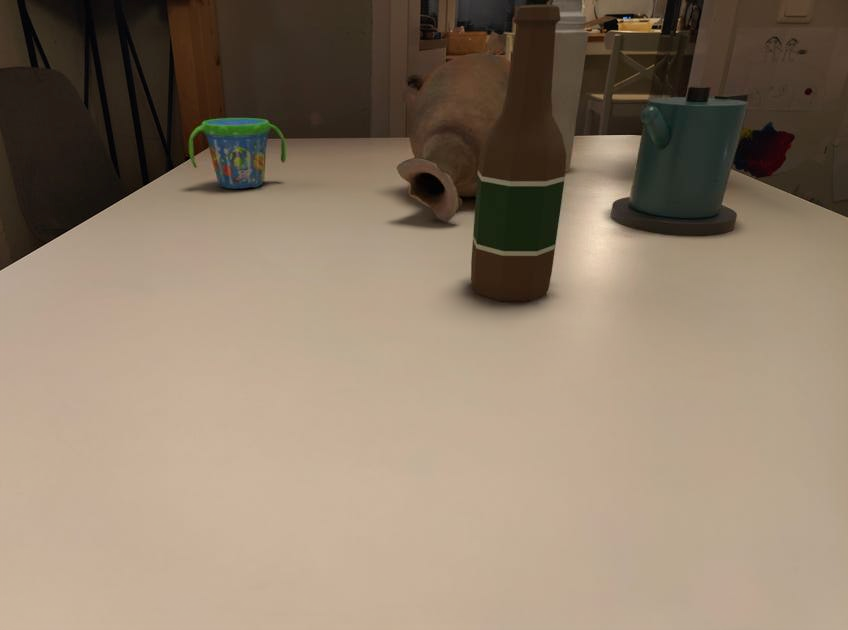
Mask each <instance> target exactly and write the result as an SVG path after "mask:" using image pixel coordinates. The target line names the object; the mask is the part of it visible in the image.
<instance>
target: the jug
mask: <svg viewBox="0 0 848 630" xmlns="http://www.w3.org/2000/svg"><path fill="white" fill-rule="evenodd" d="M510 65H511V60H509V59H507V58H505V57H503V56H500V55H497V54H492V53H479V52H477V53H475V52H474V53H467V54H464V55H459V56H457V57H454V58H452V59H450V60H448V61H446V62H445V63H442V64H441V65H440V66H438V67H437V68H435V70H433V71H432V72H431V73H430V74H428V75H424V74H409V75H407V76H406V77H405V79H404V80H403V84H402V85H401V86H402V87H401V98H402V101H403V103H404V105H405V106H406V107H407V109H408V111H409V125H408V126H409V127H408V137H409V142H410V148H411V151H412V154H413V157H412V158H409V159H405V160H404V161H402V162H400V163H399V164H397V166H396V171H397V173H398V175H399V177H401V179H403V180H405V182H408V190H407V192H408V196H410V197H412V198H414V199H415V200H416V201H418V202H420V204H423V205H424V206H425V207H428V208H430V209H431V210H432V211H433V213H434V215H435V217H436V218H437V219H438V220H440V221H442V222H445V223H446V222H448V221H451V219H452V218H453V217H455V214H456V212H457V211H458V210H459V209H460V208H461V206H462V205H463V199H462V198H476V190H477V176H478V166H479V159H480V153H481V148H482V146H483V143H484V141H485V138H486V136H487V134H488V131H489V130H490V128H491V127H492V126H493V124H494V123H495V121H496V120H497V119H498V117H499V116H500V114H501V113H502V109H503V105H504V101H505V97H506V92H507V85H508V78H509V72H510ZM411 88H412V89H414V90H411ZM415 90H416V91H415Z"/></svg>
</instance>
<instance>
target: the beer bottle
mask: <svg viewBox="0 0 848 630" xmlns="http://www.w3.org/2000/svg"><path fill="white" fill-rule="evenodd" d="M560 20H561V19H560V11H559V7H557V6H555V5H552V4H524V5H521V6H519V7H517V8H516V9H515V12H514V14H513V18H512V22H513V24H515V31H514V37H513V45H512V51H511V57H510V58H511V59H510V61H511V65H510V72H509V78H508V85H507V92H506V97H505V101H504V105H503V109H502V113H501V114H500V116H499V117H498V119H497V120H496V121H495V123H494V124H493V126H492V127H491V128H490V130H489V131H488V134H487V136H486V138H485V141H484V143H483V146H482V148H481V153H480V159H479V166H478V176H477V190H476V196H475V205H474V206H475V207H474V219H473V233H472V246H471V247H472V248H471V260H470V261H471V262H470V281H471V283H472V287H473V290H474V293H475V294H477V295H479V296H483V297H485V298H489V299H492V300H495V301H498V302H532V301H533V300H536V299H538V298H539V297H543V296H544V295H546V294H547V293H548V292H549V289H550V284H551V283H550V282H551V278H552V273H553V266H554V259H555V251H556V246H557V245H556V244H557V239H558V238H557V237H558V229H559V223H560V216H561V207H562V201H563V194H564V186H565V181H566V172H565V168H566V151H565V146H564V141H563V136H562V134H561V132H560V130H559V127H558V125H557V123H556V121H555V119H554V117H553V115H552V97H551V94H552V77H553V61H554V45H555V29H556V24H557V23H558V22H559V21H560Z"/></svg>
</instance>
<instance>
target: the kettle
mask: <svg viewBox="0 0 848 630" xmlns="http://www.w3.org/2000/svg"><path fill="white" fill-rule="evenodd" d="M711 88H712V87H711V86H705V85H691V86H689V87H688V90H687V94H686V96H674V97H673V96H670V97H669V96H667V97H654V98H650V99H648V100H647V104H646V107H645V108H644V109H642V111H641V113H640V120H641V122H642V124H643V125H642V131H641V135H640V141H639V147H638V152H637V157H636V162H635V166H634V167H635V168H634V173H633V178H632V184H631V188H630V194H629V197H630V199H629V206H630V207H631V208H633V209H635V210H637V211H640V212H643V213H647V214H652V215H657V216H664V217H673V218H706V217H712V216H715V215H717V214H719V213H720V209H721V205H723V201H724V197H725V193H726V190H727V187H728V186H727V185H728V183H729V179H730V174H731V171H732V168H733V166H734V163H735V159H736V154H737V152H738V148H739V144H740V141H741V136H742V132H743V129H744V125H745V122H746V118H747V113H748V108H749V102H747V101H748V98H749V94H747V93H732V94H721V95H720V94H719V95H715V96H714V97H710V94H711Z"/></svg>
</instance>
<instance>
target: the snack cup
mask: <svg viewBox="0 0 848 630" xmlns="http://www.w3.org/2000/svg"><path fill="white" fill-rule="evenodd" d="M271 129H272V130H273V131H275V133H277V135H278V136H279V138H280V142H281V144H280V145H281V146H280V161H281V163H285V162H286V159H287V144H286V139H285V137H284V135H283V133H282V131H281V130H280V129H279V128H278V127H277V126H276V125H274V124H271V123H270V121H269V120H267V119H264V118H256V117H255V118H253V117H225V118H223V117H222V118H213V119H207V120H203V121H202V123H201V125H199V126H197V127H196V128H194V130H193V131H192V132H191V134H190V136H189V139H188V153H189V159H190V161H191V164H192V166H193V168H194V169H196V168H197V163H196V162H195V150H194V149H195V147H194V138H195V137H196V136H197V135H198V133H199V132H202V133H203V134H204V135H205V136H206V140H207V143H208V149H209V153H210V156H211V162H212V165H213V168H214V172H215V176H216V180H217V183H218V186H219V187H223V188H225V189H232V190H240V189H242V190H243V189H248V188H258V187H260V186H261V185H263V183H264V181H265V174H266V173H265V172H266V157H267V155H266V154H267V143H268V139H269V135H270V130H271Z"/></svg>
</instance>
